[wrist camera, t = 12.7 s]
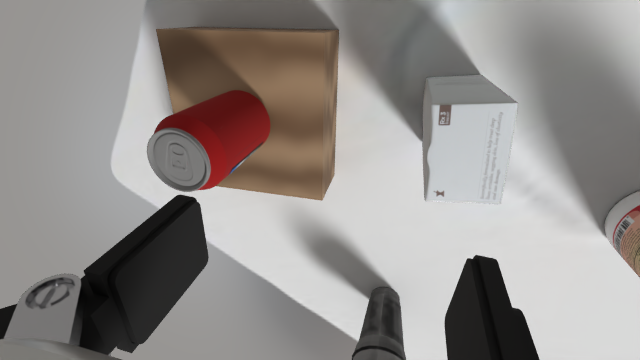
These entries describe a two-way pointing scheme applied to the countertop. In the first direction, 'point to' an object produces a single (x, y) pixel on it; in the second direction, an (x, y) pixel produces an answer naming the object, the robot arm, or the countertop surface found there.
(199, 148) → the beverage can
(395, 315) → the beverage cup
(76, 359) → the robot arm
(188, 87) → the walnut block
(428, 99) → the skincare box
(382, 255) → the countertop surface
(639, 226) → the fruit juice
